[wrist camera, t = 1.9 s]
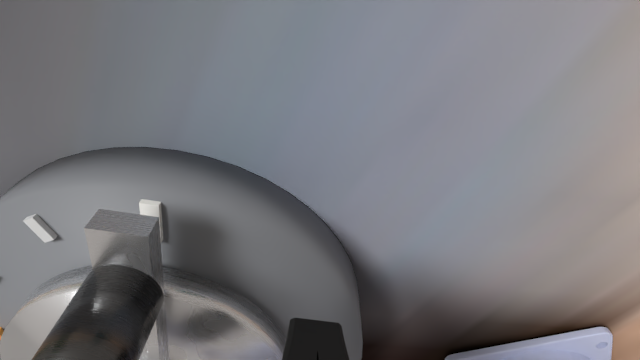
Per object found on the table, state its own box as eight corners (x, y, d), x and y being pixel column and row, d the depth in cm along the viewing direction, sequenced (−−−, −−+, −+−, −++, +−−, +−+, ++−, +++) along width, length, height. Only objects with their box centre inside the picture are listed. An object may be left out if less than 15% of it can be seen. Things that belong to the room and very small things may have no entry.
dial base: (397, 365, 22) (405, 417, 19) (135, 414, 25) (117, 463, 23) (270, 82, 13) (258, 118, 11) (-106, 218, 16) (-175, 266, 14)
